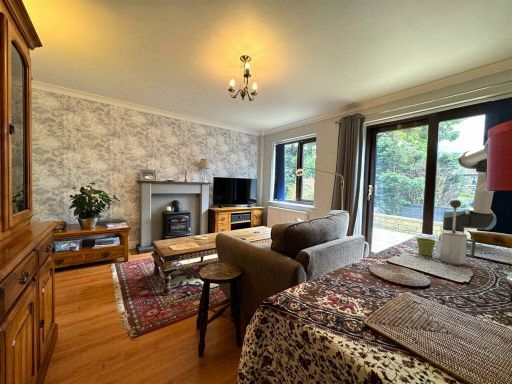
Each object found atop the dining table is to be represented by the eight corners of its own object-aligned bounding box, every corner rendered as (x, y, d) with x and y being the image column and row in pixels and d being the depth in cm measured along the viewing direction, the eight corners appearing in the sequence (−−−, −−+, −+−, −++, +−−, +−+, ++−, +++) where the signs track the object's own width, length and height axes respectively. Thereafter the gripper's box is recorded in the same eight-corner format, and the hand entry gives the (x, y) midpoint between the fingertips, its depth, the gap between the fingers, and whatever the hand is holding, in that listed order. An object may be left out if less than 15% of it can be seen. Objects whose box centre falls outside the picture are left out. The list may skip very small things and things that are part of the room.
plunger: (443, 235, 123) (445, 198, 122) (460, 237, 119) (463, 199, 118) (445, 238, 117) (448, 199, 116) (463, 240, 113) (466, 200, 112)
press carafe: (437, 256, 126) (439, 229, 125) (470, 261, 118) (472, 232, 118) (440, 262, 117) (442, 232, 116) (476, 267, 110) (478, 236, 109)
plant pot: (412, 252, 132) (412, 238, 131) (421, 250, 136) (421, 237, 135) (429, 257, 123) (430, 242, 123) (438, 255, 127) (439, 241, 127)
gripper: (510, 157, 114) (468, 185, 123) (535, 152, 93) (484, 186, 102) (524, 167, 111) (481, 195, 120) (554, 164, 90) (499, 198, 99)
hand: (482, 191), depth 111 cm, fingers open, 13 cm apart
